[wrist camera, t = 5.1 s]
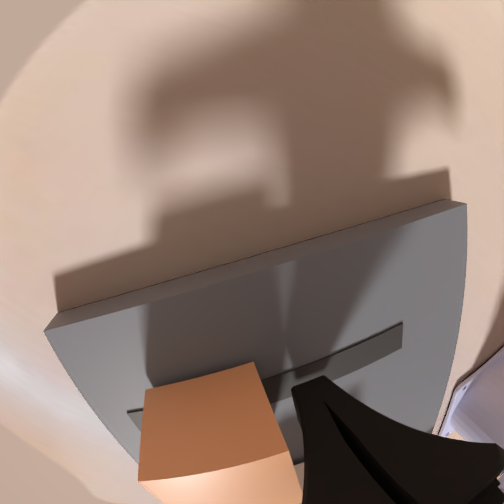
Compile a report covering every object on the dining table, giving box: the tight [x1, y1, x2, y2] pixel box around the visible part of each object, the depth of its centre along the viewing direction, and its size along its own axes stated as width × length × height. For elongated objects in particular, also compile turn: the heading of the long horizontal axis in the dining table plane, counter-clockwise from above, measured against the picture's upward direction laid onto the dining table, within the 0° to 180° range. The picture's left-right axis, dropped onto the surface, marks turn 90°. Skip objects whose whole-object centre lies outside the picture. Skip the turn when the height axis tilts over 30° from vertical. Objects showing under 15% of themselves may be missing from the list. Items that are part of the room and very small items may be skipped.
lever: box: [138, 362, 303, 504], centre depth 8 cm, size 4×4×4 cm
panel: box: [44, 199, 467, 465], centre depth 13 cm, size 18×26×4 cm
